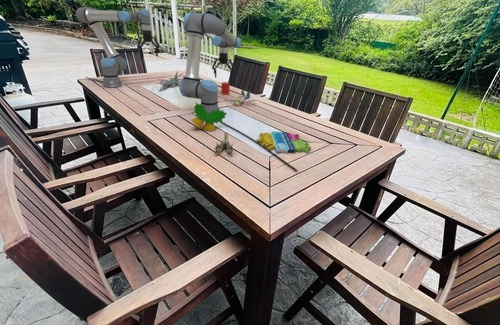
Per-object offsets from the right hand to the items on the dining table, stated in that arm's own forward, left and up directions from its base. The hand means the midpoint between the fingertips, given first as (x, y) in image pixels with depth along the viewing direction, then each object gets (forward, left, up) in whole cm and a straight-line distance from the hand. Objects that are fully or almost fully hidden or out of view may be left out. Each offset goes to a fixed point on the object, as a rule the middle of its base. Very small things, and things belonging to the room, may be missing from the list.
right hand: (223, 78), depth 233 cm
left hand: (+30, +62, +12) cm, 70 cm away
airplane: (+29, +45, -14) cm, 55 cm away
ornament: (-83, +24, -14) cm, 87 cm away
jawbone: (-115, +20, -14) cm, 118 cm away
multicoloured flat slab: (-109, -15, -14) cm, 111 cm away
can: (0, -2, -14) cm, 14 cm away
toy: (-26, -11, -14) cm, 32 cm away
